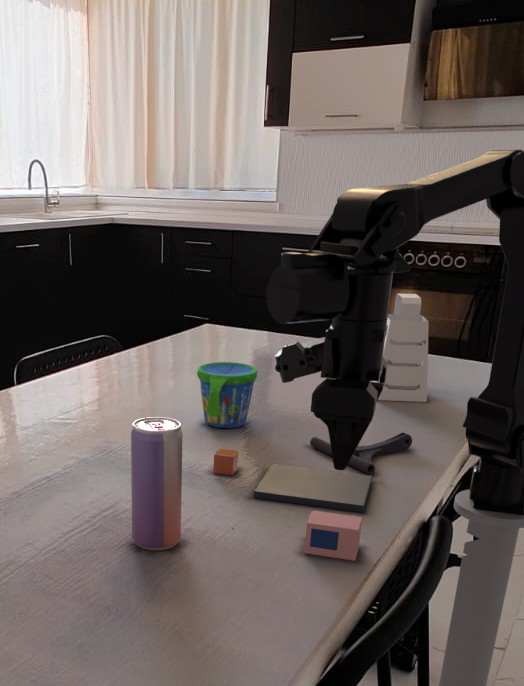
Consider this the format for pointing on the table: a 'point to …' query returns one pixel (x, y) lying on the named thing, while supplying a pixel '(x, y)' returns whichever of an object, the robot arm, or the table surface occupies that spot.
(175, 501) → the beverage can
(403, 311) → the grater
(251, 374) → the snack cup
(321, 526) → the eraser
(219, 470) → the clay cube
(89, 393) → the table surface
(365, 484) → the tray
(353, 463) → the squeegee
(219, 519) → the table surface
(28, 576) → the table surface
